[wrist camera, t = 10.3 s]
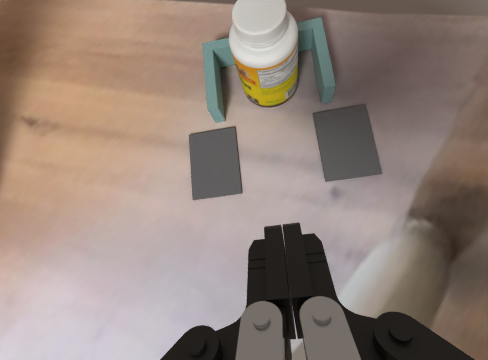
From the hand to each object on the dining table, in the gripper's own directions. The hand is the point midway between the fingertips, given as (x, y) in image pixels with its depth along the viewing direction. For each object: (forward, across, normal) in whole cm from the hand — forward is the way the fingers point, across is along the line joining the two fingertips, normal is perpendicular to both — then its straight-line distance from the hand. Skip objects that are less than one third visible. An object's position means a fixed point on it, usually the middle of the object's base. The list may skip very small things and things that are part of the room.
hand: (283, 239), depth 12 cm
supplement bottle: (+22, 0, -1) cm, 22 cm away
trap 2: (+16, +6, +4) cm, 18 cm away
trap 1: (+16, -7, +4) cm, 18 cm away
